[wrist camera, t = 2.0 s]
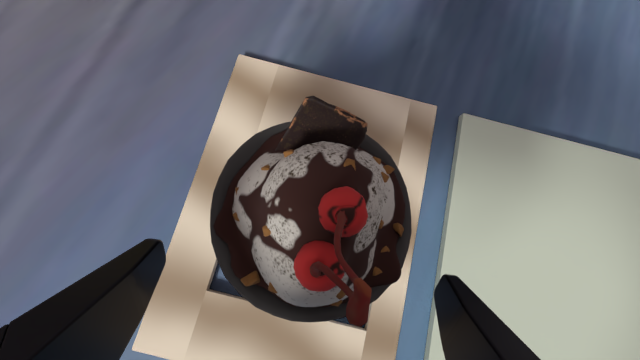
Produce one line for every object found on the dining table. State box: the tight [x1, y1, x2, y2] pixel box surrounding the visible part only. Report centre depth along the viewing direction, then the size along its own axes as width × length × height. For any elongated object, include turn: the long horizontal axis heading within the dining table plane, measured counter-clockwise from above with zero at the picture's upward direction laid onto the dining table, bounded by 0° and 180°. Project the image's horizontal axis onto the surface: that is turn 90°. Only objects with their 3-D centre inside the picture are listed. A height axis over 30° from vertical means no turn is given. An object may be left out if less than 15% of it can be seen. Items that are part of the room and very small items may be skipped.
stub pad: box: [424, 113, 640, 360], centre depth 19 cm, size 20×15×1 cm
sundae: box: [210, 96, 412, 327], centre depth 12 cm, size 7×7×15 cm
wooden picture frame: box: [132, 54, 437, 360], centre depth 19 cm, size 20×15×1 cm
